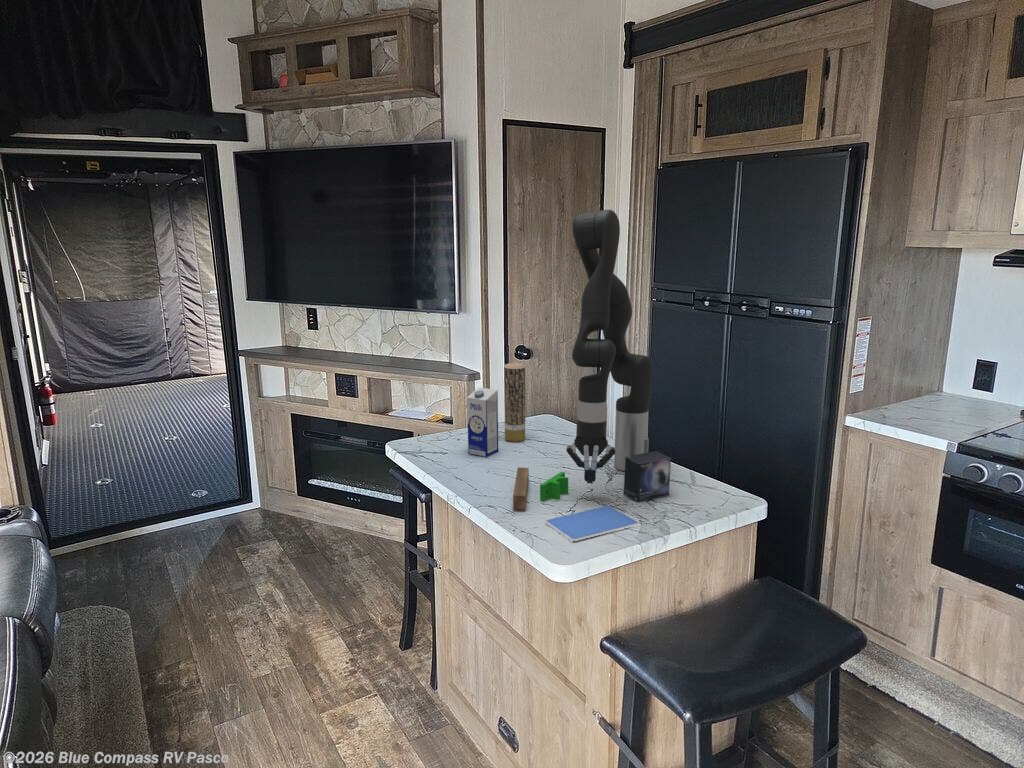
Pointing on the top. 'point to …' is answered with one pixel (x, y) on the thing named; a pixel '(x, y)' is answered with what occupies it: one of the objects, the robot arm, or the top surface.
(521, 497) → the block
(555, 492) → the pipe clamp
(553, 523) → the tablet computer
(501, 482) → the top surface
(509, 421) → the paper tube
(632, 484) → the small box
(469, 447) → the milk carton
